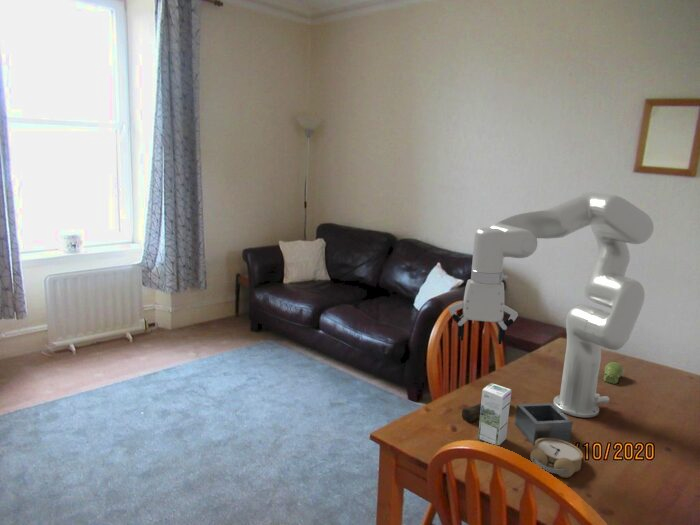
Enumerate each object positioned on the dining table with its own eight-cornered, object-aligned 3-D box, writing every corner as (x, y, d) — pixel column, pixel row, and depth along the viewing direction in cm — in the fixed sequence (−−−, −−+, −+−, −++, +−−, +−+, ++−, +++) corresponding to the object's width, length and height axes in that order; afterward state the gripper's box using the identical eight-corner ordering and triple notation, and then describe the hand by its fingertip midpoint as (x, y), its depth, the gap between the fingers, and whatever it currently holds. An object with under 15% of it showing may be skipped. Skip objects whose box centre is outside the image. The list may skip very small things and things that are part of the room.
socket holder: (549, 422, 147) (551, 402, 146) (569, 442, 137) (572, 422, 136) (514, 424, 145) (517, 404, 144) (533, 444, 135) (535, 423, 134)
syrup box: (506, 438, 138) (512, 388, 134) (497, 448, 133) (502, 396, 130) (486, 430, 141) (491, 381, 138) (476, 439, 137) (481, 388, 134)
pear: (625, 361, 178) (619, 375, 171) (623, 375, 180) (617, 389, 173) (608, 357, 181) (601, 370, 174) (606, 370, 183) (599, 384, 176)
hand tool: (470, 425, 144) (472, 410, 143) (460, 419, 147) (462, 404, 146) (516, 409, 154) (518, 395, 153) (506, 403, 157) (507, 389, 156)
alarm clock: (587, 448, 130) (574, 466, 117) (584, 467, 130) (570, 487, 118) (542, 432, 136) (525, 448, 124) (538, 451, 136) (521, 468, 124)
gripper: (519, 276, 134) (512, 338, 137) (451, 271, 136) (446, 332, 140) (523, 283, 126) (516, 349, 130) (451, 277, 129) (446, 342, 133)
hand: (480, 340), depth 135 cm, fingers open, 9 cm apart
